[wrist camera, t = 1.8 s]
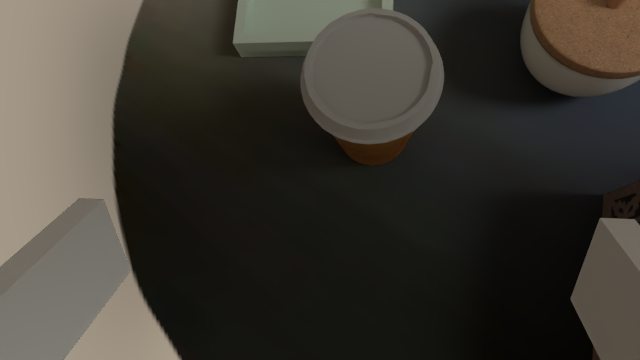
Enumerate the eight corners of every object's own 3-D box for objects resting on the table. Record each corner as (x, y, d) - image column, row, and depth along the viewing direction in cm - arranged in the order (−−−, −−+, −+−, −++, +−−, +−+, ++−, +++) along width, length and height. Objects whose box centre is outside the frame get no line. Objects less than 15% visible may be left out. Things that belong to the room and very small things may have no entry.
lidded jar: (593, -9, 38) (659, -99, 29) (659, 88, 35) (754, 21, 26) (483, 35, 39) (514, -41, 30) (538, 134, 36) (592, 84, 27)
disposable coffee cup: (316, 95, 40) (289, 17, 28) (416, 77, 39) (431, -11, 27) (328, 190, 37) (304, 148, 26) (435, 174, 36) (461, 123, 25)
